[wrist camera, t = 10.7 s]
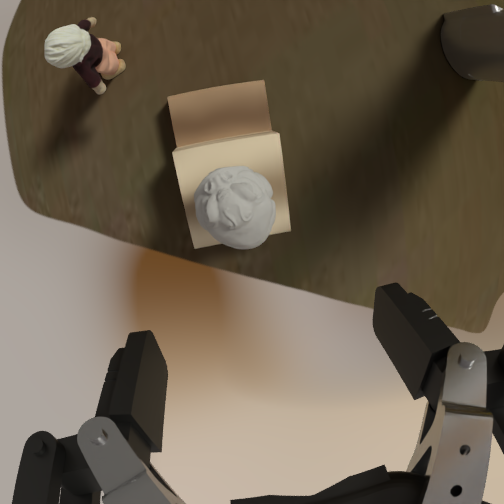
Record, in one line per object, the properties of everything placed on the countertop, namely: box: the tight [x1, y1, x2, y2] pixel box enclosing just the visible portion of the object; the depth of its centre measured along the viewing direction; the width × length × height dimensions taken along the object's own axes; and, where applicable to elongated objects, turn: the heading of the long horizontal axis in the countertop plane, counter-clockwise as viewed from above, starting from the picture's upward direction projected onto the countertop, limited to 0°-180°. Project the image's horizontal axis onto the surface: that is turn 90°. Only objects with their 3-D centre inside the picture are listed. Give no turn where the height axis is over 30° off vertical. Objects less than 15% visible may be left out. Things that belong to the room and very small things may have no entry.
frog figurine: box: [194, 166, 276, 249], centre depth 23 cm, size 6×7×7 cm
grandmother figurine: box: [45, 18, 126, 94], centre depth 19 cm, size 8×4×13 cm, turn 21°
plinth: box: [167, 80, 291, 249], centre depth 28 cm, size 14×9×6 cm, turn 8°
